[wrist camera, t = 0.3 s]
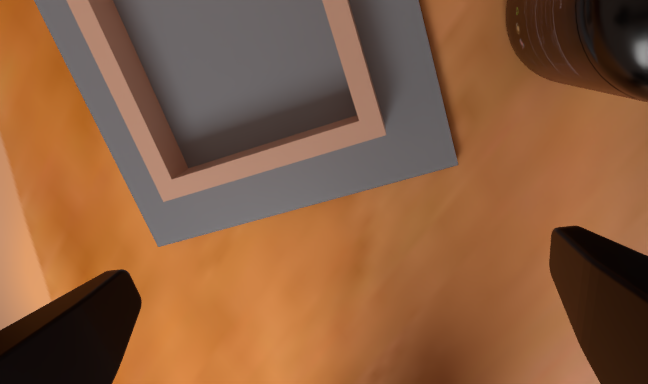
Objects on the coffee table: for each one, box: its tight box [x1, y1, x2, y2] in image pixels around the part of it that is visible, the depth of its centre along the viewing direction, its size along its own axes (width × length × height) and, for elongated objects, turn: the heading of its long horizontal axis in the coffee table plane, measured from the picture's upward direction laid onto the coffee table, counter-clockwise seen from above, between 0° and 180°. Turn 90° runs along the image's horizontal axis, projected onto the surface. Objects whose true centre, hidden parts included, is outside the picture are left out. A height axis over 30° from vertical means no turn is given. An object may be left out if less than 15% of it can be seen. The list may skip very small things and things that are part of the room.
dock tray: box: [34, 0, 458, 247], centre depth 20 cm, size 18×18×3 cm
